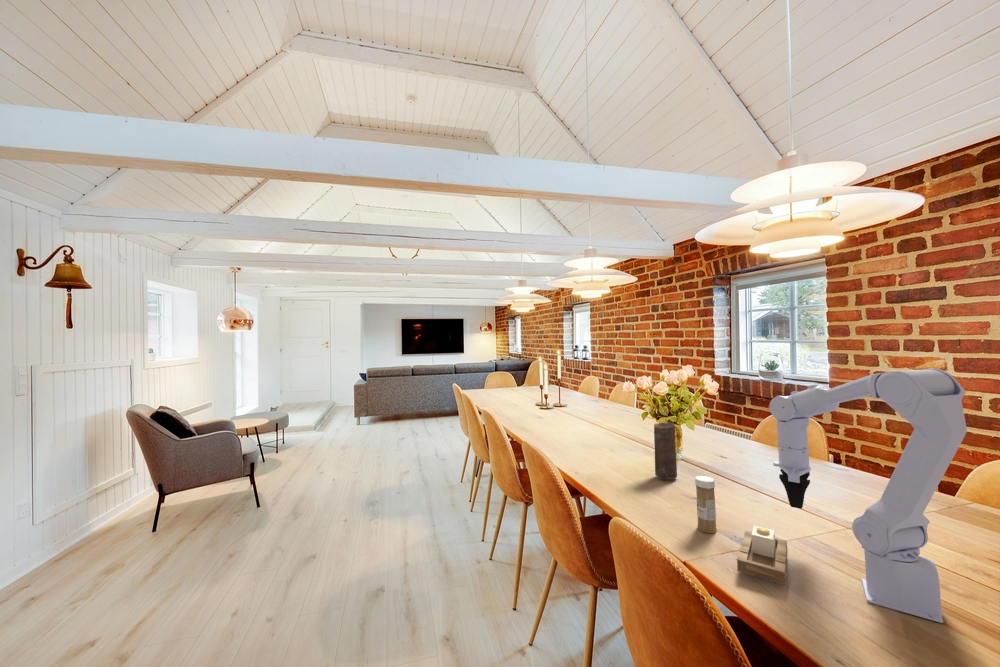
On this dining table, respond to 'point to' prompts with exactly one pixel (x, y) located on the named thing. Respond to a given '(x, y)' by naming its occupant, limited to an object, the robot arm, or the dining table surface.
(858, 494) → the dining table surface
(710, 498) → the sprinkles bottle
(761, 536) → the block
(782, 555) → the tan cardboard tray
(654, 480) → the dining table surface
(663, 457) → the candle
